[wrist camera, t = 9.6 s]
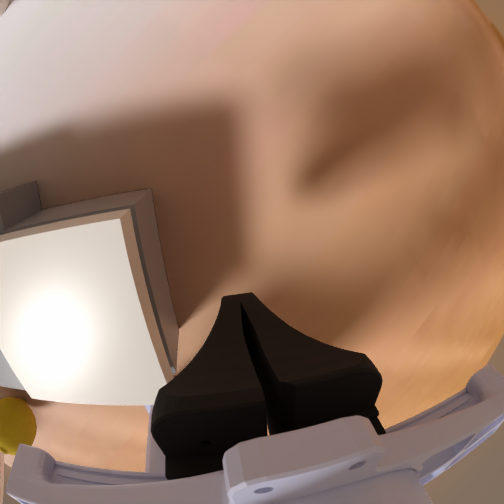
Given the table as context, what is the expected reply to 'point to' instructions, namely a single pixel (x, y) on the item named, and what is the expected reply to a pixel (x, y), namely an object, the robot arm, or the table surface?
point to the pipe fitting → (3, 6)
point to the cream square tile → (80, 313)
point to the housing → (139, 202)
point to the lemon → (15, 424)
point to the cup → (1, 476)
